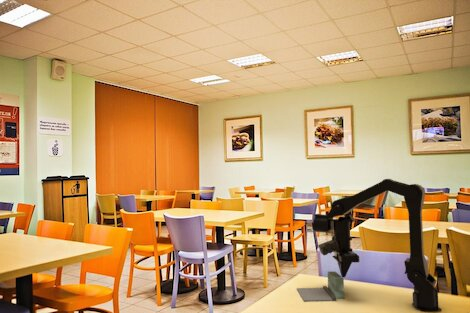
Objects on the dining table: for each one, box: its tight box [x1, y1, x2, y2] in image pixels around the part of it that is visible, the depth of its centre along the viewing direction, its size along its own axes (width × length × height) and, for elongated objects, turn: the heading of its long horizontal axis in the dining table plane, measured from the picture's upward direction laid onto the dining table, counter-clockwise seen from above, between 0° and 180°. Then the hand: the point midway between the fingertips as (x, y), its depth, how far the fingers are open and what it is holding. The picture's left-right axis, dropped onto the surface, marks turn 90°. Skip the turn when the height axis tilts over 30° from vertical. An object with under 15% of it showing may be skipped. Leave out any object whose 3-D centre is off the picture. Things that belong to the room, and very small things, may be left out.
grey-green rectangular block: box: [327, 270, 345, 300], centre depth 134 cm, size 3×10×7 cm, turn 1°
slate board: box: [296, 285, 337, 302], centre depth 133 cm, size 11×14×1 cm
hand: (343, 277), depth 134 cm, fingers closed
